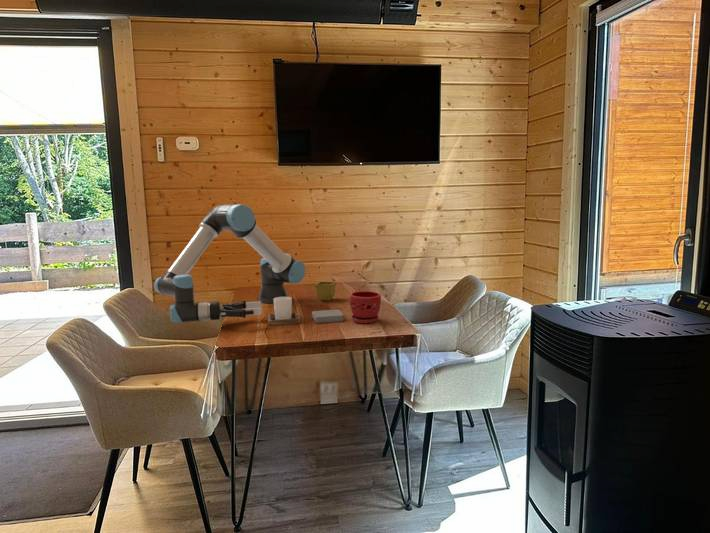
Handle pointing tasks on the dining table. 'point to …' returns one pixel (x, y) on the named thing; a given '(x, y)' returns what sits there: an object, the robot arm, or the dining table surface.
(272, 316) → the walnut frame
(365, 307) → the plant pot
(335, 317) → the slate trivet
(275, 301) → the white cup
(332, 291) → the flower pot
